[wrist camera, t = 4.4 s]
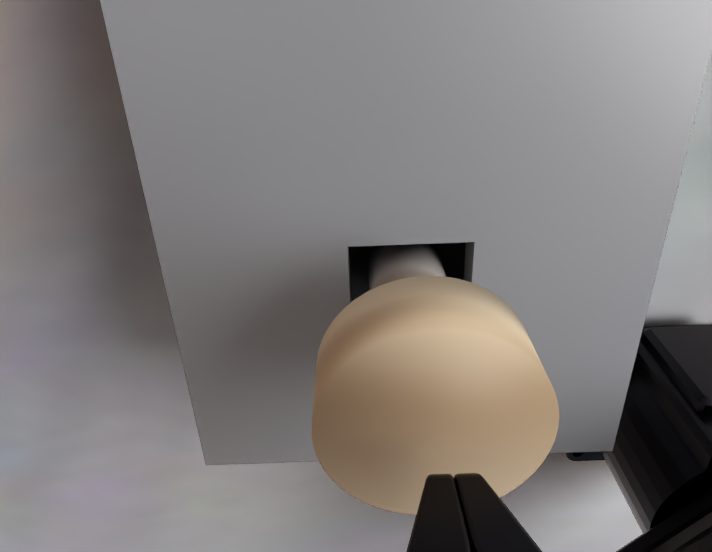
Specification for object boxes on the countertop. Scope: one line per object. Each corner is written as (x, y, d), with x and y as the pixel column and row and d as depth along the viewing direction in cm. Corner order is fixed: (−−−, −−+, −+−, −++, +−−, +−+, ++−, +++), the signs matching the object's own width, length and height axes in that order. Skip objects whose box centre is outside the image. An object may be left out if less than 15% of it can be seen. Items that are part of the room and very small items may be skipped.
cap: (477, 324, 17) (542, 511, 11) (329, 330, 17) (319, 519, 11) (488, 183, 15) (577, 325, 9) (319, 189, 15) (301, 335, 9)
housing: (549, 334, 22) (612, 451, 17) (239, 345, 22) (205, 465, 17) (690, -573, 11) (977, -1021, 6) (93, -545, 12) (-119, -961, 6)
